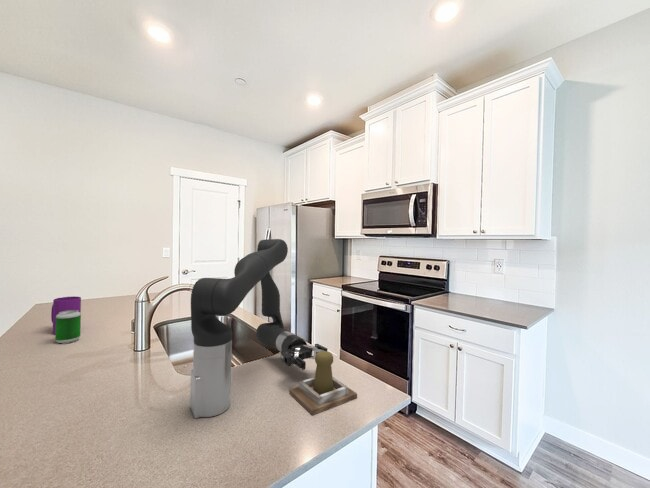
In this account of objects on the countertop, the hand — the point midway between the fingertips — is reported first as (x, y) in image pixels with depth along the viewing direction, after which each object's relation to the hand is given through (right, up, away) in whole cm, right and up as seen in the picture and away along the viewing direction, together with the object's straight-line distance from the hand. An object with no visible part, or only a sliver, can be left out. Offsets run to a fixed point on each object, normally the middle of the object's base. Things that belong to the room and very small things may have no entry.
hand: (317, 362), depth 83 cm
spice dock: (+2, -8, -3) cm, 9 cm away
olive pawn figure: (+2, -7, -3) cm, 8 cm away
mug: (-116, -5, +45) cm, 125 cm away
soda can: (-102, -5, +33) cm, 108 cm away
